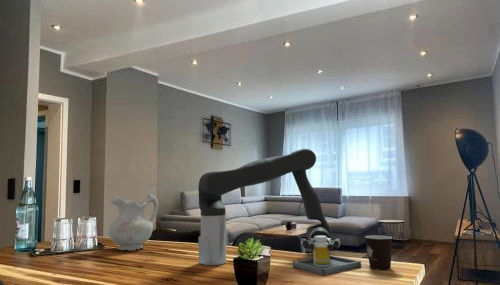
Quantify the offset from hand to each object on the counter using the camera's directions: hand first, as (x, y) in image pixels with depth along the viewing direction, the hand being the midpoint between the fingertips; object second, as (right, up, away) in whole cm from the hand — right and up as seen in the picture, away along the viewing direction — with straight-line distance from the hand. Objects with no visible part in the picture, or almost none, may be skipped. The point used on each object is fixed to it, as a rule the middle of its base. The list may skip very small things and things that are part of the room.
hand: (321, 246), depth 118 cm
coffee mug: (+20, -7, +2) cm, 21 cm away
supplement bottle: (+1, -7, +2) cm, 7 cm away
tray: (+3, -8, +3) cm, 9 cm away
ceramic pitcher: (-78, -15, +47) cm, 92 cm away
